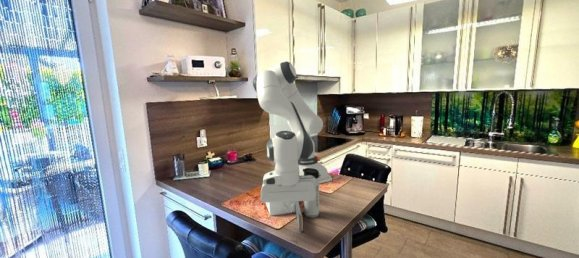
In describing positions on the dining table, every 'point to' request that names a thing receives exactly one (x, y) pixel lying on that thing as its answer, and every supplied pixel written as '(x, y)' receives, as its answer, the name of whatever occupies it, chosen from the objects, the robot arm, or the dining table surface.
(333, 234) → the dining table surface
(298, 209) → the side door
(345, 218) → the dining table surface
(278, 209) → the white box with hole
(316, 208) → the travel mug
